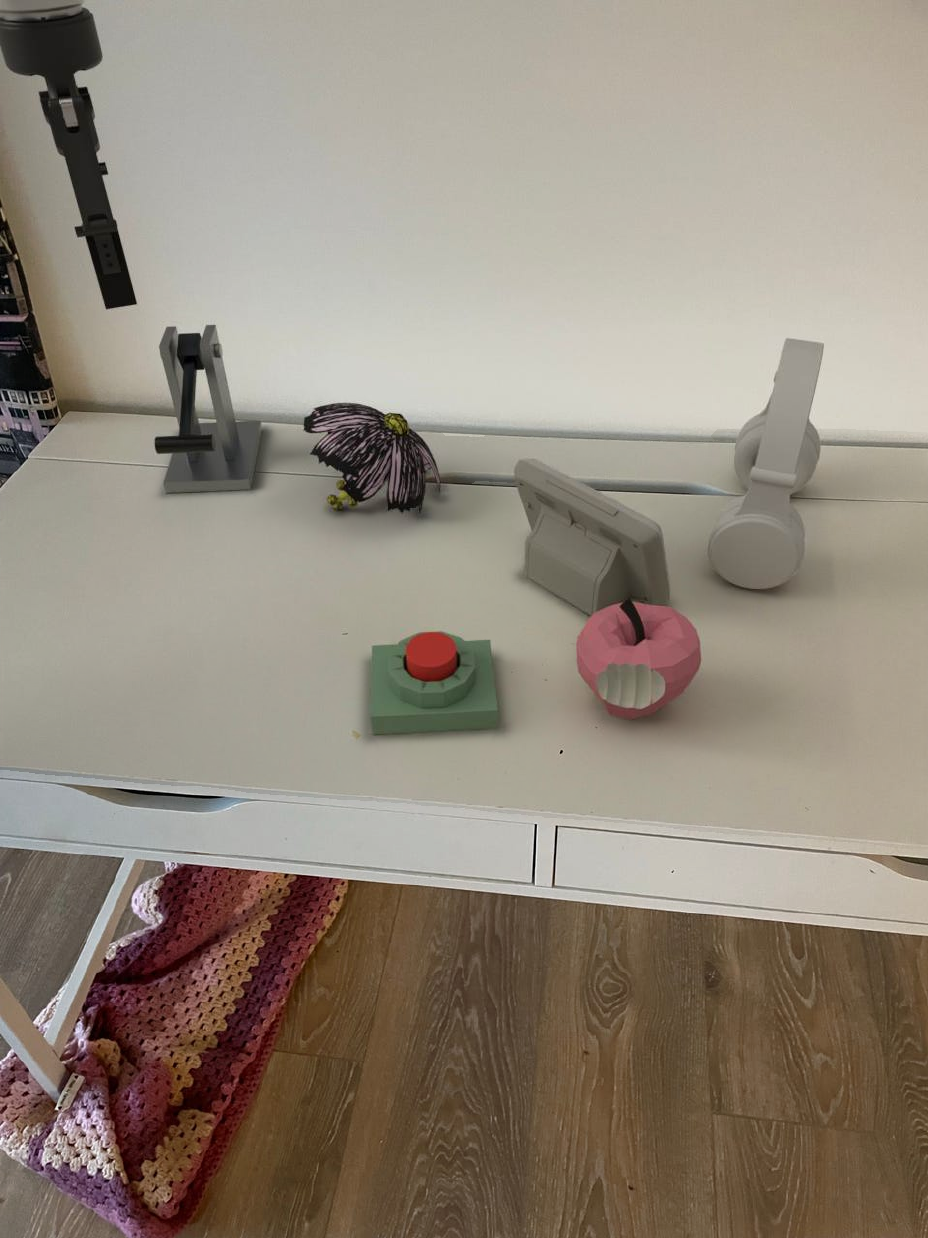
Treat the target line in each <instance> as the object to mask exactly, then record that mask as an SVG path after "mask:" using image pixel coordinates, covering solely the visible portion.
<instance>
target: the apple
mask: <svg viewBox="0 0 928 1238" xmlns="http://www.w3.org/2000/svg"><path fill="white" fill-rule="evenodd" d="M575 647H576V666H577V672H578V673H579V675H580V677H581V678H582V679H583V681H584V682H585V684H586V685H587V686H588V687H589V688H590V689H591V691H592V692H593V693H594V695H595V696H596V697H597V698H598V700H599V701H600V703H601V704H602V705H603V707H604V708H605V710H606V712H607V713H608V715H610V716H612V717H613V716H614V717H616V718H620V719H624V720H629V721H631V720H633V719H636V718H640V717H642V716H649V715H653V714H654V713H656V712H657V711H659V710H660V709H661V708H662V707H665V705H667V704H669V703H671V702H673V701H675V700H676V699H677V698H678V697H680V696H681V695H682V694H684V692H685V691H686V690H687V689H688V687H689V686H690V684H691V683H692V682H693V680H694V679H695V677H696V675H697V673H698V672H699V670H700V666H701V664H702V650H701V641H700V637H699V634H698V631H697V628H696V627H695V626H694V625H693V623H692V622H691V621H690V620H689V618H688V617H687V616H686V615H684V614H682V613H680V612H679V611H676V610H675V609H673V608H672V607H670V606H666V605H658V606H657V605H648V604H646V603H644V602H637V601H632V599H631V598H630V597H629V596H628V597H626V598H625V599H624V601H621V602H619V603H618V604H615V605H611V606H608V607H606V608H604V609H602V610H600V611H598V612H596V613H594V614H593V615H592V616H590V617H589V619H588V620H587V622H586V623H585V625H584V626H583V628H582V629H581V631H580V632H579V634H578V635H577V637H576V643H575Z"/></svg>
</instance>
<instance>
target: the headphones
mask: <svg viewBox="0 0 928 1238" xmlns="http://www.w3.org/2000/svg"><path fill="white" fill-rule="evenodd" d="M824 347H825V345H824V343H823V342H818V341H812V340H804V339H798V338H797V339H796V338H789V337H787V338H785V339H784V343H783V347H782V351H781V355H780V359H779V363H778V368H777V370H776V371H775V373H774V377H773V388H772V392H771V394H770V396H769V399H768V401H767V404H766V406H765V407H764V409H763V410H762V411H760V413H758V414H755V415H754V416H753V417H751V418H750V419H748V421H746V422H745V423H744V425H743V426H742V427H741V429H740V430H739V432H738V435H737V436H736V439H735V444H734V453H733V468H734V469H733V470H734V472H735V475H736V477H737V479H738V481H740V483H741V484H742V485H743V487H744V488H746V489H747V491H746V494H745V495H740V496H738V497H736V498H733V500H731V501H729V502H728V503H727V504H726V505H724V507H723V508H722V509H721V511H720V512H719V514H718V515H717V517H716V519H715V523H714V524H713V526H712V528H711V530H710V532H709V536H708V540H707V556H708V559H709V562H710V565H711V566H712V568H713V569H714V570H715V572H716V573H717V574H718V575H719V576H720V577H721V578H723V579H724V580H726V582H729V583H730V584H733V585H735V586H737V587H739V588H740V587H741V588H745V589H750V590H768V589H771V588H775V587H778V586H781V585H783V584H785V583H786V582H788V581H789V580H790V579H792V578H793V577H794V576H795V575H796V574H797V572H798V571H799V569H800V567H801V565H802V563H803V560H804V558H805V552H806V542H805V537H806V533H805V531H806V530H805V525H804V520H803V518H802V516H801V514H800V513H799V511H798V510H797V509H796V507H794V505H793V504H791V495H793V494H796V493H797V492H799V491H801V490H802V489H803V488H804V487H805V486H807V484H808V483H809V482H810V481H811V479H812V477H813V476H814V474H815V472H816V469H817V468H816V467H817V465H818V462H819V459H820V456H821V451H822V450H821V448H822V447H821V444H822V443H821V439H820V435H819V433H818V429H816V427H815V426H814V424H813V423H812V421H811V420H810V415H811V411H812V406H813V401H814V397H815V393H816V388H817V384H818V380H819V375H820V371H821V365H822V362H823V361H822V360H823V355H824Z"/></svg>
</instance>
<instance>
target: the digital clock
mask: <svg viewBox="0 0 928 1238" xmlns="http://www.w3.org/2000/svg"><path fill="white" fill-rule="evenodd" d="M513 477H514V482H515V485H516V489H517V491H518V494H519V497H520V500H521V503H522V506H523V509H524V513H525V515H526V518H527V520H528V525H529V527H530V530H531V531H530V533H529V534H528V535H527V537H526V540H525V545H524V567H523V568H524V569H523V575H524V576H525V577H526V578H527V579H529V580H532V581H533V582H534V583H536V584H538V585H540V586H541V587H543V588H545V590H547V591H548V592H551V593H552V594H554V595H556V596H557V597H559V598H561V599H562V600H564V601H566V602H567V603H569V604H570V605H572V606H573V607H576V608H577V609H579V610H581V611H582V612H583V613H585V614H586V615H588V616H590V617H591V616H592V615H593V614H594V613H596V612H598V611H600V610H602V609H604V608H606V607H608V606H611V605H615V604H619V603H622V602H623V600H626V599H627V598H628V597H629V596H631V597H634V598H635V599H637V600H639V601H641V603H643V604H648V605H657V606H663V605H664V604H666V603H667V602H668V601H669V600H670V599H671V582H670V574H669V568H668V562H667V555H666V547H665V542H664V541H665V539H664V535H663V529H662V528H661V526H660V524H659V523H658V522H657V521H656V520H653V519H652V518H651V517H648V516H647V515H645V514H643V513H642V512H639V511H637V510H635V509H633V508H631V507H630V506H628V505H625V504H624V503H622V502H620V501H618V500H616V499H613V498H612V497H610V496H608V495H606V494H604V493H602V492H600V491H599V490H596V489H595V488H593V487H590V486H589V485H587V484H585V483H583V482H581V481H579V480H578V479H575V478H574V477H572V476H569V475H568V474H565V473H564V472H562V471H560V470H558V469H556V468H554V467H552V466H550V465H548V464H546V463H544V462H542V461H540V460H537V459H535V458H524V459H523V458H522V459H519V460H518V461H517V462H516V464H515V466H514V471H513Z"/></svg>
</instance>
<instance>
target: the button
mask: <svg viewBox="0 0 928 1238" xmlns="http://www.w3.org/2000/svg"><path fill="white" fill-rule="evenodd" d="M425 632H426V633H422V634H419V635H417V636H415V637H413V638H412V639H411V640H410V641H409V643H408V644H407V647H406V659H407V668H408V671H409V673H410V674H411V675H412V676H413V677H414V678H416V679H418V680H421V681H424V682H434V681H442V680H444V679H446V678H448V677H449V676H451V675H452V674H453V673H454V671H455V669H456V666H457V651H456V644H455V642H454V641H453V640H452V639H451V638H450V637H449V636H447V635H445V634H443V633H439V632H436V631H425Z"/></svg>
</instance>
